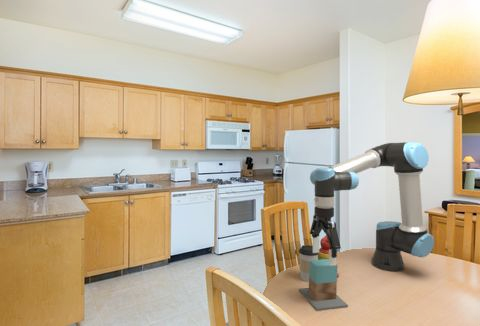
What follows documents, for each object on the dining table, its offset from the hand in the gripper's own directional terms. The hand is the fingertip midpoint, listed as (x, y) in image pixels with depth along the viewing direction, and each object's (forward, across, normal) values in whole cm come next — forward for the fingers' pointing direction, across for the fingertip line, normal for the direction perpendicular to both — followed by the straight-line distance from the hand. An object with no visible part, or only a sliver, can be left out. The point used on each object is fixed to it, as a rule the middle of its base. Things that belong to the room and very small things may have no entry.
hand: (323, 258), depth 116 cm
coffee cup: (+17, -18, +2) cm, 25 cm away
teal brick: (+8, 0, 0) cm, 9 cm away
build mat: (+16, 0, -1) cm, 16 cm away
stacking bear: (+17, -22, +14) cm, 31 cm away
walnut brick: (+16, 0, -1) cm, 16 cm away
